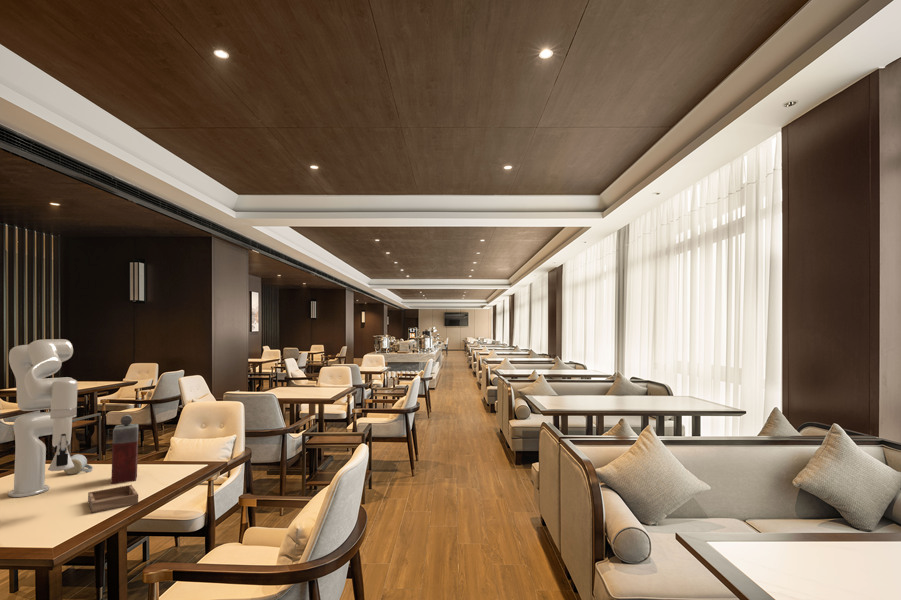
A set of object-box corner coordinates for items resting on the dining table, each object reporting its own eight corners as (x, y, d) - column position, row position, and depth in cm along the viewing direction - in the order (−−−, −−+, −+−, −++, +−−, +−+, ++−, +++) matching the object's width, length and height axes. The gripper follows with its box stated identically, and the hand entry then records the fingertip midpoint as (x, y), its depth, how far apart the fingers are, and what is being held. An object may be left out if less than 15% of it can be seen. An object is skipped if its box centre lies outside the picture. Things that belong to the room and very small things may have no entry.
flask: (59, 472, 174) (60, 443, 175) (43, 471, 176) (44, 442, 176) (78, 466, 181) (79, 439, 182) (62, 465, 183) (64, 438, 183)
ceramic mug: (61, 476, 221) (62, 458, 222) (66, 471, 229) (67, 454, 229) (90, 473, 226) (91, 456, 226) (94, 469, 233) (95, 452, 234)
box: (87, 501, 188) (88, 492, 188) (131, 493, 197) (131, 484, 197) (92, 513, 176) (92, 503, 176) (138, 504, 185) (138, 494, 185)
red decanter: (137, 474, 223) (139, 412, 225) (135, 480, 214) (138, 415, 215) (113, 477, 219) (115, 414, 221) (111, 484, 209) (113, 417, 211)
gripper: (49, 411, 184) (47, 460, 183) (51, 417, 171) (48, 471, 170) (74, 409, 189) (72, 457, 188) (78, 415, 176) (76, 466, 175)
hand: (61, 463), depth 179 cm, fingers closed on flask, 5 cm apart
